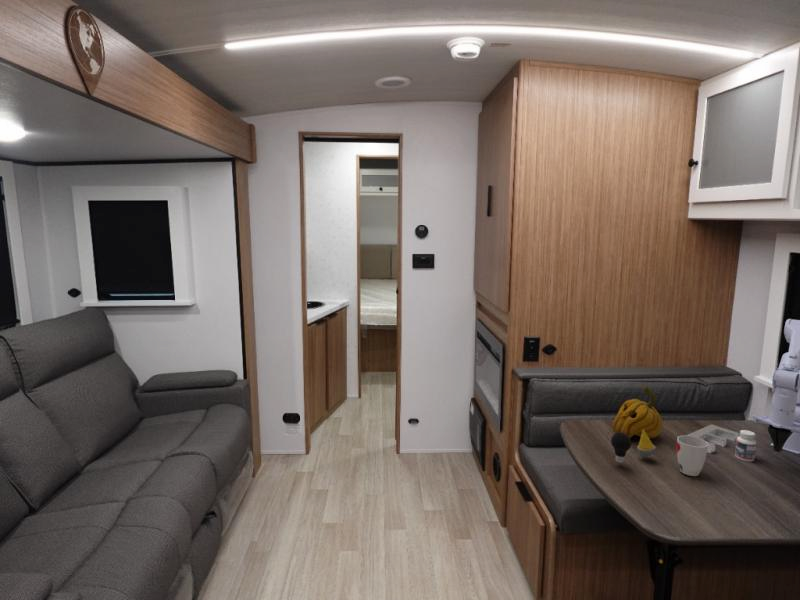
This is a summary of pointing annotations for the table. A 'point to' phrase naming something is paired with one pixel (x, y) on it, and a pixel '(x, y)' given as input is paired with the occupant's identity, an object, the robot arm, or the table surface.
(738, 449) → the pill bottle
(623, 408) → the pumpkin
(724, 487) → the table surface
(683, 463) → the cup
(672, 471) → the table surface
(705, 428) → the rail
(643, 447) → the yellow cone
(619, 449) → the light bulb
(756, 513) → the table surface
